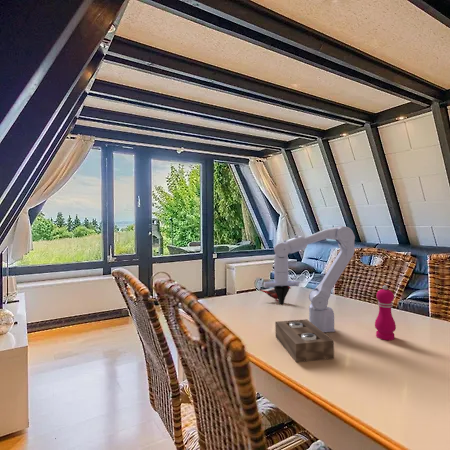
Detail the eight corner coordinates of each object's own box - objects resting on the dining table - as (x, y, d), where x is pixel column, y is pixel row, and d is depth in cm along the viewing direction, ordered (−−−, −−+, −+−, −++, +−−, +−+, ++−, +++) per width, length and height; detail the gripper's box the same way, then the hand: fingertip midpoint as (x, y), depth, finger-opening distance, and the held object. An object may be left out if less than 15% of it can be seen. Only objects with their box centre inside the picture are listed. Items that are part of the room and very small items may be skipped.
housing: (307, 334, 130) (307, 319, 130) (333, 358, 108) (333, 340, 108) (275, 336, 128) (275, 321, 128) (296, 362, 106) (295, 343, 106)
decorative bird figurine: (291, 303, 174) (290, 284, 173) (258, 301, 179) (257, 283, 179) (291, 302, 176) (291, 283, 176) (259, 300, 182) (258, 282, 181)
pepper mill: (370, 335, 127) (370, 284, 126) (384, 332, 130) (384, 282, 129) (385, 342, 120) (385, 288, 120) (400, 339, 123) (400, 286, 122)
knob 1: (300, 336, 127) (299, 320, 127) (305, 341, 122) (304, 325, 122) (287, 337, 126) (287, 321, 126) (292, 342, 121) (291, 326, 121)
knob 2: (312, 349, 115) (312, 332, 115) (318, 355, 110) (318, 337, 110) (299, 350, 114) (298, 333, 114) (304, 356, 109) (304, 338, 109)
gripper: (294, 269, 141) (294, 300, 141) (261, 270, 139) (261, 302, 139) (300, 272, 134) (300, 305, 134) (266, 273, 132) (266, 306, 132)
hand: (281, 303), depth 136 cm, fingers closed
